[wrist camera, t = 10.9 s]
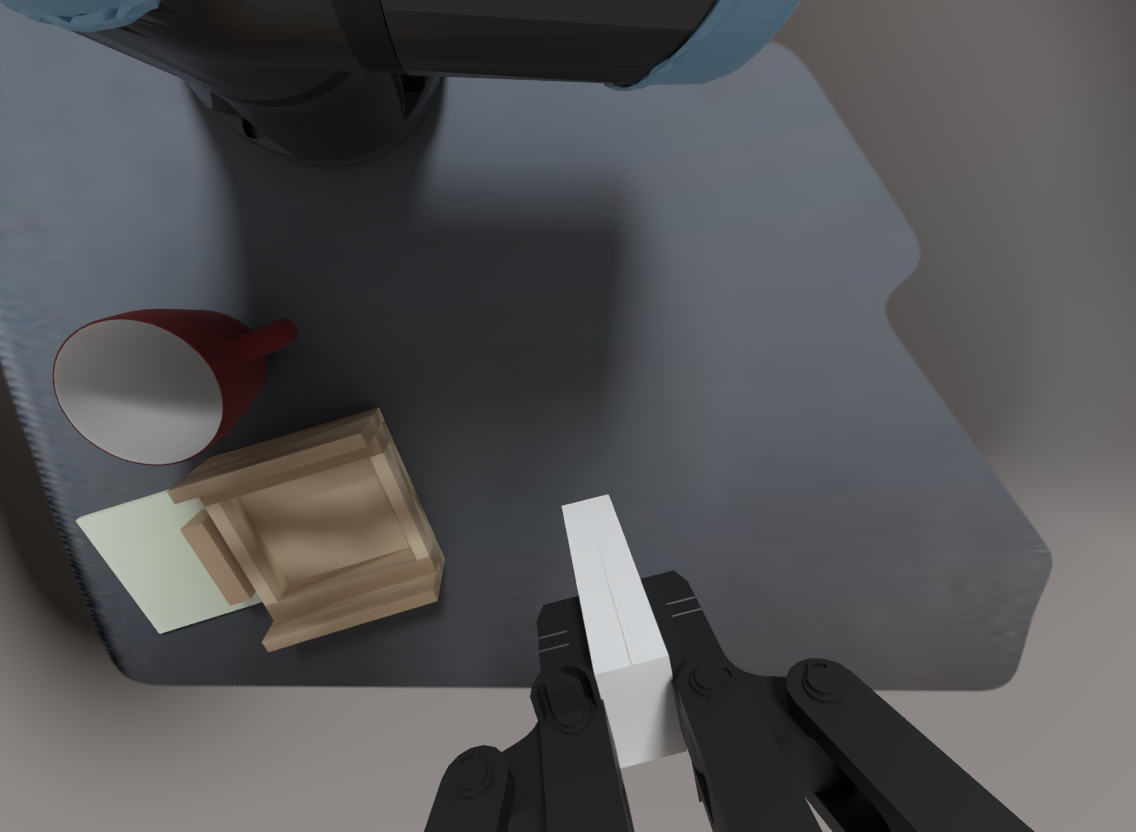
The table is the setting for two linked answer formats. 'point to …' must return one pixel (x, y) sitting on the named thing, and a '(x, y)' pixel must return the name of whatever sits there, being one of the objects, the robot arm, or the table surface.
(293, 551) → the birch box
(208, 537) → the lid
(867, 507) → the table surface
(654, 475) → the table surface
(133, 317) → the mug
